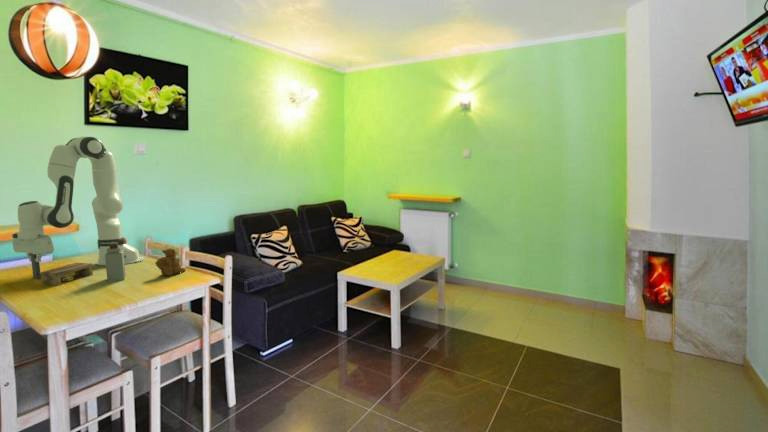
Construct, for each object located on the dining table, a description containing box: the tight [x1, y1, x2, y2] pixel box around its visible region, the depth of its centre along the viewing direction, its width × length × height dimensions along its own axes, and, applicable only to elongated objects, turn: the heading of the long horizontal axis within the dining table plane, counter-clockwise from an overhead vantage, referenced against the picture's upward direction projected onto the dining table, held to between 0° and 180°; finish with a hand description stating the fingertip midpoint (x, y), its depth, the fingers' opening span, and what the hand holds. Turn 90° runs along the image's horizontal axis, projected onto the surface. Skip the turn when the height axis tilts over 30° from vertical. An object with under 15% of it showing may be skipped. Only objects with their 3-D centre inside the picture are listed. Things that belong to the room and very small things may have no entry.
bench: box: [40, 262, 94, 286], centre depth 192 cm, size 9×18×6 cm, turn 170°
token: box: [61, 276, 75, 282], centre depth 192 cm, size 4×4×1 cm
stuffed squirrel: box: [155, 247, 187, 277], centre depth 201 cm, size 10×14×13 cm
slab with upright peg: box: [30, 253, 66, 279], centre depth 193 cm, size 14×7×12 cm, turn 80°
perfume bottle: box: [105, 243, 127, 283], centre depth 192 cm, size 7×7×18 cm
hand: (35, 261), depth 194 cm, fingers closed on slab with upright peg
